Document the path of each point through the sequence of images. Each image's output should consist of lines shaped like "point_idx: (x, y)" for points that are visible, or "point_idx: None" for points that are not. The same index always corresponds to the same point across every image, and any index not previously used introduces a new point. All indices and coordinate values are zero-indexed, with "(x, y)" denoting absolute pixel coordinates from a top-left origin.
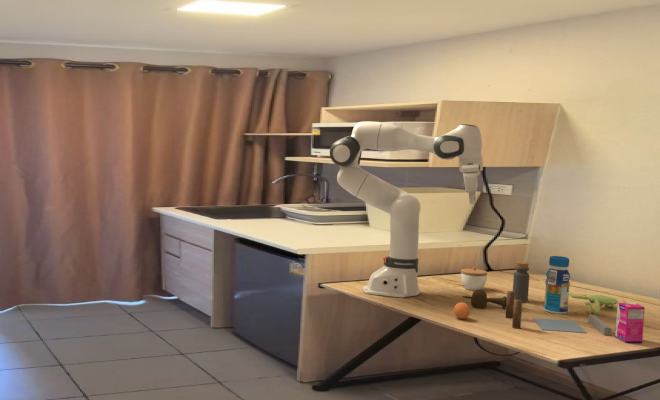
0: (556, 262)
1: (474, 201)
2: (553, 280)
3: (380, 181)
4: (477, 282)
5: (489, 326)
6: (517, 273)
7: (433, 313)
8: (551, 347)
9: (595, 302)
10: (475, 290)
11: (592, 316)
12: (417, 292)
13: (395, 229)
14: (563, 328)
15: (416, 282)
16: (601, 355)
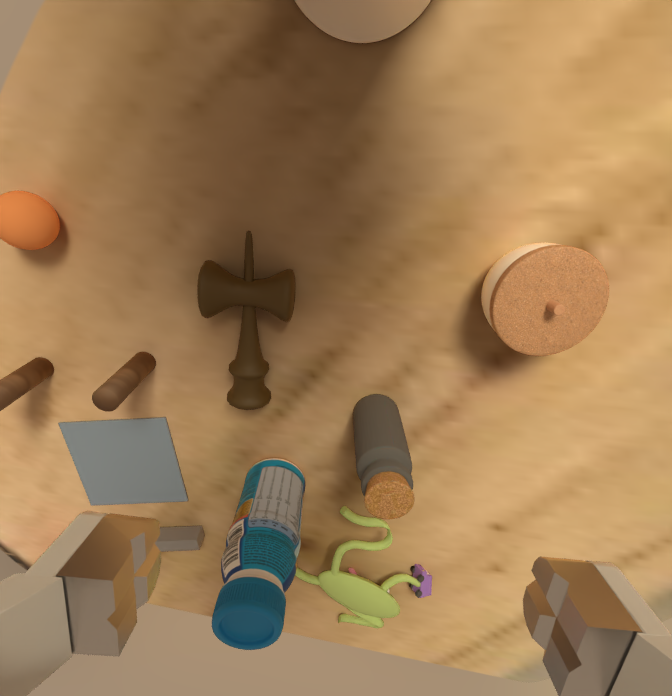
0: (216, 603)
1: (139, 605)
2: (231, 540)
3: None
4: (482, 305)
5: (7, 298)
6: (369, 457)
7: (57, 114)
8: None
9: (311, 575)
10: (285, 286)
11: (180, 542)
12: (331, 28)
13: None
14: (96, 468)
15: (339, 2)
16: None
